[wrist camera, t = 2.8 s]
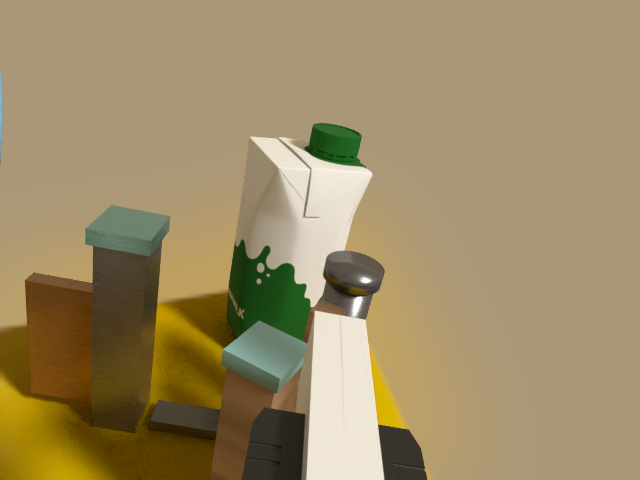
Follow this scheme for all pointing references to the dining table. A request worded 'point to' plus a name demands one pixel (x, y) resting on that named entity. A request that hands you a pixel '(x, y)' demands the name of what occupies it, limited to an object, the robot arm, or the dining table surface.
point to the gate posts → (136, 324)
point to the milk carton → (292, 225)
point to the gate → (257, 387)
